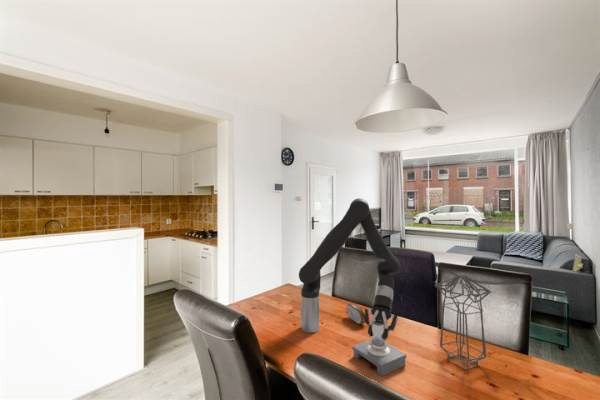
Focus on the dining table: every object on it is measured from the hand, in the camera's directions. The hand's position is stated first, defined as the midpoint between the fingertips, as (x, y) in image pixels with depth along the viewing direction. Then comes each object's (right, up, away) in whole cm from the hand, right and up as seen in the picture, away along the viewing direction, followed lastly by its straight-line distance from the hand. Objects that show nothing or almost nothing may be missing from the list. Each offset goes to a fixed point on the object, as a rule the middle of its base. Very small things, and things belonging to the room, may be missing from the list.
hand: (377, 337), depth 109 cm
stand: (+1, -10, +1) cm, 10 cm away
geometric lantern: (+35, -10, 0) cm, 37 cm away
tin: (-1, -11, +39) cm, 40 cm away
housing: (+1, -4, +2) cm, 5 cm away
